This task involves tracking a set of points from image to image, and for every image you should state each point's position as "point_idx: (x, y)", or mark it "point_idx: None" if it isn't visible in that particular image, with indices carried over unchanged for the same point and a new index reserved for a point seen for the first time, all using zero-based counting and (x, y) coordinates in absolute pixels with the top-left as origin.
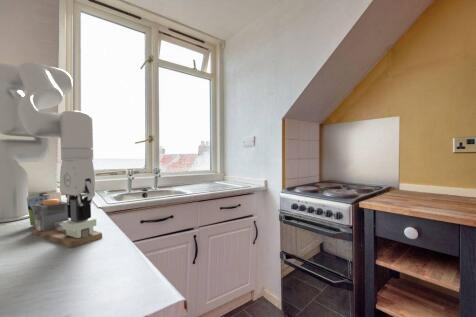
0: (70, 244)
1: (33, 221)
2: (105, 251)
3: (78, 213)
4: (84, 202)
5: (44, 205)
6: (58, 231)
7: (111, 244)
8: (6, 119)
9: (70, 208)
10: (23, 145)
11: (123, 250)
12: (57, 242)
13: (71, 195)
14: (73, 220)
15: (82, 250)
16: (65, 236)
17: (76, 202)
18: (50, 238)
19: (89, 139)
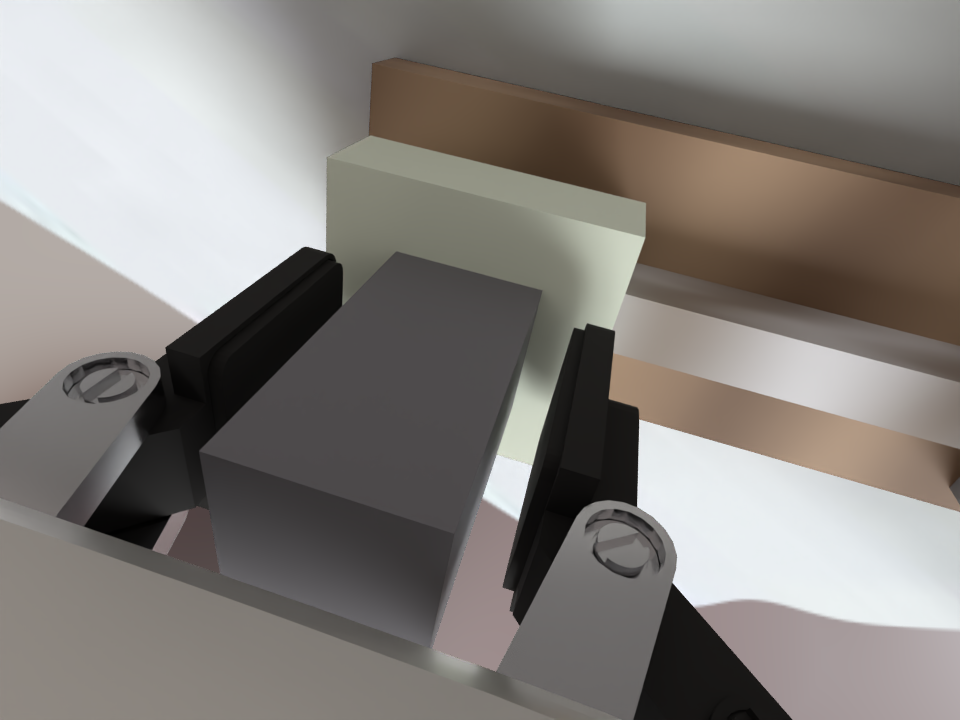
0: (397, 63)
1: None
2: (81, 92)
3: (251, 285)
4: (7, 409)
5: None
6: (884, 304)
7: (181, 218)
8: None
9: (549, 425)
10: None
11: (6, 146)
12: (681, 123)
13: (52, 518)
14: (463, 276)
15: (251, 48)
16: (618, 188)
17: (218, 435)
18: (863, 168)
19: None
